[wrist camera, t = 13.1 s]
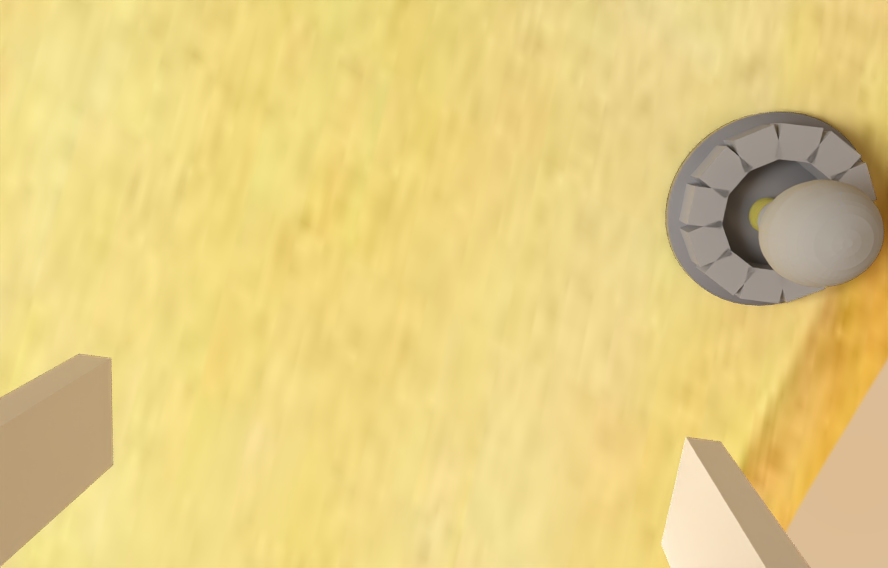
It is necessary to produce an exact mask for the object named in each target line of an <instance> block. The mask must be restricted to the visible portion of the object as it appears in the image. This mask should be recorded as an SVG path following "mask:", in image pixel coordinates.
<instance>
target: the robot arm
mask: <svg viewBox="0 0 888 568" xmlns="http://www.w3.org/2000/svg"><path fill="white" fill-rule="evenodd" d="M112 465H113V427H112V372H111V358H107V357H100V356H92V355H85V354H78V355H76V356H74V357H72V358H70V359H69V360H67V361H65V362H63V363H62V364H60V365H58V366H56V367H54V368H53V369H51V370H49V371H47V372H45V373H44V374H42V375H40V376H38V377H37V378H35V379H33V380H31V381H29V382H28V383H26V384H24V385H22V386H20V387H19V388H17V389H15V390H13V391H11V392H10V393H8V394H6V395H4V396H3V397H1V398H0V566H2V565H3V564H4V563H5V562H6V561H7V560H8V559H9V558H10V557H12V556H13V555H14V554H15V553H16V552H17V551H18V550H19V549H20V548H22V547H23V546H24V545H25V544H26V543H27V542H28V541H29V540H30V539H31V538H33V537H34V536H35V535H36V534H37V533H38V532H39V531H40V530H41V529H43V528H44V527H45V526H46V525H47V524H48V523H49V522H50V521H51V520H53V519H54V518H55V517H56V516H57V515H58V514H59V513H60V512H61V511H63V510H64V509H65V508H66V507H67V506H68V505H69V504H70V503H71V502H73V501H74V500H75V499H76V498H77V497H78V496H79V495H80V494H81V493H83V492H84V491H85V490H86V489H87V488H88V487H89V486H90V485H91V484H92V483H94V482H95V481H96V480H97V479H98V478H99V477H100V476H101V475H102V474H104V473H105V472H106V471H107V470H108V469H109V468H110V467H111V466H112ZM661 545H662V548H663V550H664V553H665V555H666V558H667V560H668V563H669V565H670V568H810V566H809V565H808V564H807V562H806V561H805V559H804V558H803V557H802V555H801V554H800V552H799V551H798V549H797V548H796V547H795V545H794V544H793V543H792V541H791V540H790V538H789V537H788V535H787V534H786V533H785V531H784V530H783V528H782V527H781V526H780V524H779V523H778V521H777V520H776V519H775V517H774V516H773V514H772V513H771V512H770V510H769V509H768V507H767V506H766V505H765V503H764V502H763V500H762V499H761V498H760V496H759V495H758V493H757V492H756V491H755V489H754V488H753V486H752V485H751V484H750V482H749V481H748V479H747V478H746V476H745V475H744V474H743V472H742V471H741V469H740V468H739V467H738V465H737V464H736V462H735V461H734V460H733V458H732V457H731V455H730V454H729V453H728V451H727V450H726V448H725V447H724V446H723V444H722V443H721V442H719V441H712V440H705V439H697V438H690V437H686V438H685V442H684V447H683V451H682V455H681V460H680V464H679V468H678V473H677V477H676V481H675V486H674V490H673V494H672V499H671V503H670V507H669V512H668V516H667V521H666V525H665V529H664V534H663V538H662V542H661Z"/></svg>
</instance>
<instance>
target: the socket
mask: <svg viewBox="0 0 888 568" xmlns="http://www.w3.org/2000/svg"><path fill="white" fill-rule="evenodd" d="M860 157H861V155H860V154H859V153H858V152H857V151H856V149H855V148H854V147H853V145H852V144H851V143H850V142H849V140H847V139H846V138H845V137H844V136H843V135H842V134H841V133H840V132H839V131H837V130H836V129H834V128H833V127H832V126H830V125H829V124H827V123H825V122H823V121H821V120H819V119H816V118H813V117H810V116H807V115H803V114H797V113H790V112H769V113H759V114H754V115H749V116H745V117H742V118H739V119H737V120H734V121H732V122H730V123H727V124H725V125H723V126H721V127H720V128H718V129H717V130H715V131H714V132H712V133H710V134H709V135H708V136H707V137H705V138H704V139H703V140H702V141H701V142H699V143H698V144H697V146H696V147H695V148H694V149H693V150H692V151H691V152H690V153H689V154H688V156H687V157H686V158H685V160H684V161H683V163H682V164H681V166H680V168H679V169H678V171H677V173H676V175H675V177H674V179H673V182H672V184H671V187H670V190H669V194H668V198H667V204H666V230H667V236H668V240H669V243H670V247H671V249H672V251H673V254H674V256H675V258H676V259H677V261H678V263H679V264H680V266H681V267H682V269H683V270H684V271H685V272H686V273H687V274H688V276H689V277H691V278H692V279H693V280H694V281H695V282H696V283H697V284H698V285H700V286H701V287H702V288H704V289H705V290H707V291H708V292H710V293H712V294H714V295H716V296H718V297H720V298H722V299H725V300H728V301H731V302H734V303H739V304H745V305H758V306H759V305H773V304H778V303H784V302H790V301H793V300H796V299H798V298H801V297H804V296H807V295H809V294H812V293H815V292H818V291H820V290H823V289H825V287H807V286H803V285H799V284H797V283H794V282H792V281H790V280H788V279H786V278H784V277H782V276H781V275H779V274H778V273H777V272H776V271H774V269H773V268H772V267H771V266H770V265H769V263H768V262H767V260H766V259H765V257H764V255H763V253H762V251H761V248H760V244H759V231H757V230H756V229H754V228H753V227H752V225H751V224H750V221H749V211H750V208H751V207H752V205H753V204H754V203H755V202H756V201H758V200H759V199H762V198H773V199H775V198H776V197H777V196H778V195H779V194H781V193H782V192H783V191H785V190H787V189H788V188H790V187H792V186H795V185H797V184H800V183H804V182H808V181H812V180H820V179H826V180H834V181H839V182H843V183H847V184H850V185H852V186H855V187H857V188H858V189H860V190H861V191H863V192H864V193H865V194H866V195H867V196H868V197H869V198H870V199H871V200H872V201H874V200H877V199H876V195H875V192H874V188H873V185H872V181H871V178H870V174H869V171H868V167H867V164H866V163H864V162H863V161H862V160H861V158H860Z"/></svg>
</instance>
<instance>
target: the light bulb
mask: <svg viewBox="0 0 888 568" xmlns="http://www.w3.org/2000/svg"><path fill="white" fill-rule="evenodd" d="M749 221H750V224H751V225H752V227H753V228H754V229H756V230H757V231H759V244H760V248H761V251H762V253H763V255H764V257H765V259H766V260H767V262H768V263H769V265H770V266H771V267H772V268H773V269H774V271H776V272H777V273H778V274H779V275H781V276H782V277H784V278H786V279H788V280H790V281H792V282H794V283H797V284H799V285H803V286H807V287H828V286H835V285H839V284H842V283H845V282H847V281H850V280H852V279H853V278H855V277H857V276H859V275H860V274H862V273H863V272H864V271H865V270H866V269H868V268H869V267H870V265H871V264H872V263H873V262H874V261H875V259H876V258H877V256H878V254H879V252H880V250H881V247H882V244H883V239H884V226H883V220H882V217H881V214H880V212H879V210H878V208H877V206H876V205H875V204H874V202H873V201H872V200H871V199H870V198H869V197H868V196H867V195H866V194H865V193H864V192H863V191H861V190H860V189H858V188H857V187H855V186H852V185H850V184H847V183H843V182H839V181H834V180H826V179H820V180H812V181H808V182H804V183H800V184H797V185H795V186H792V187H790V188H788V189H787V190H785V191H783V192H782V193H781V194H779V195H778V196H777V197H776V198H775V199H773V198H762V199H759V200H758V201H756V202H755V203H754V204H753V205H752V207H751V208H750V211H749Z"/></svg>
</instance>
